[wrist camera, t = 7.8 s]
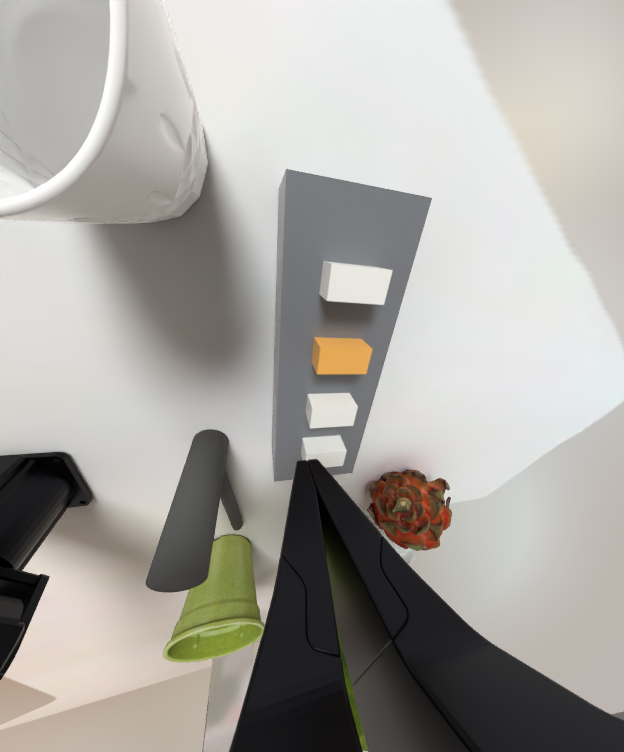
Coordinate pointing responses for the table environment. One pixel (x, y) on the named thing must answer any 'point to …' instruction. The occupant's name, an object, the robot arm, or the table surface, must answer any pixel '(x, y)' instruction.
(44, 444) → the table surface
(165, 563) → the post
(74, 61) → the white cup
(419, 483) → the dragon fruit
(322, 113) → the table surface
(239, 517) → the dark grey thin rod
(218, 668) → the soap dispenser
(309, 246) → the breaker strip
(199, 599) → the plant pot
